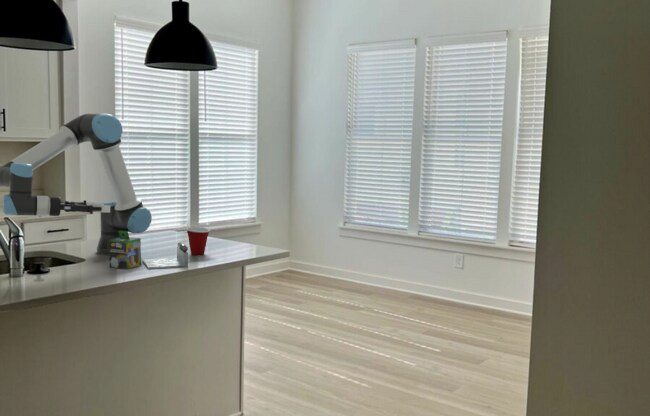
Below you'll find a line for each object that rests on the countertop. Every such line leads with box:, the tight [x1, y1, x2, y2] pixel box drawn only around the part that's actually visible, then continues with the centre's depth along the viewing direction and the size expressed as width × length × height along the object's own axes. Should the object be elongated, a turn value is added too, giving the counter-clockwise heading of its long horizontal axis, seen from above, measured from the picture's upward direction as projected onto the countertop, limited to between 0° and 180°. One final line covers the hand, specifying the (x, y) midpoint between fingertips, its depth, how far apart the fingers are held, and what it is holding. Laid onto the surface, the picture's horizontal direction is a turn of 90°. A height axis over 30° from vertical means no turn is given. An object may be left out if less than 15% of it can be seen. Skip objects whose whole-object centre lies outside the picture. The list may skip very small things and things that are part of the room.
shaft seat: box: [142, 241, 189, 270], centre depth 256 cm, size 16×16×8 cm
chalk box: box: [108, 231, 142, 270], centre depth 249 cm, size 9×9×15 cm
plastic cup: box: [185, 226, 211, 256], centre depth 280 cm, size 11×11×12 cm
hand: (106, 207), depth 244 cm, fingers open, 13 cm apart
